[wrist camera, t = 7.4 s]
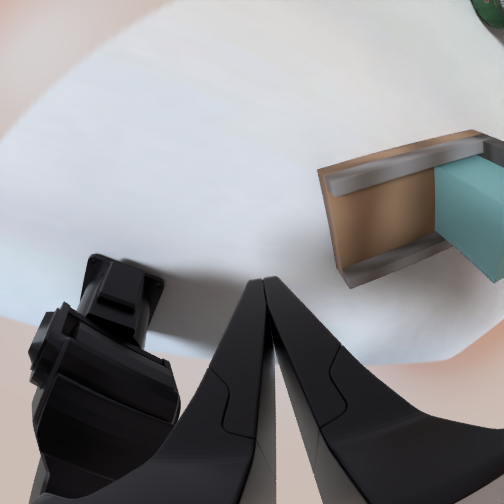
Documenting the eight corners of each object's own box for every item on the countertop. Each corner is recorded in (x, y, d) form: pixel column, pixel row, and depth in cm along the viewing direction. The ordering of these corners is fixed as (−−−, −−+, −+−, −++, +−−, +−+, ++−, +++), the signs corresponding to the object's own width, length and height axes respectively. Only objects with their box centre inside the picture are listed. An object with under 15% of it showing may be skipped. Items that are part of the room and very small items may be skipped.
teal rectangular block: (434, 230, 23) (493, 283, 16) (434, 165, 20) (508, 208, 13) (472, 214, 23) (530, 259, 16) (474, 153, 20) (544, 190, 13)
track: (336, 268, 26) (373, 328, 19) (317, 169, 21) (365, 212, 15) (471, 214, 25) (520, 252, 19) (472, 129, 20) (534, 154, 14)
